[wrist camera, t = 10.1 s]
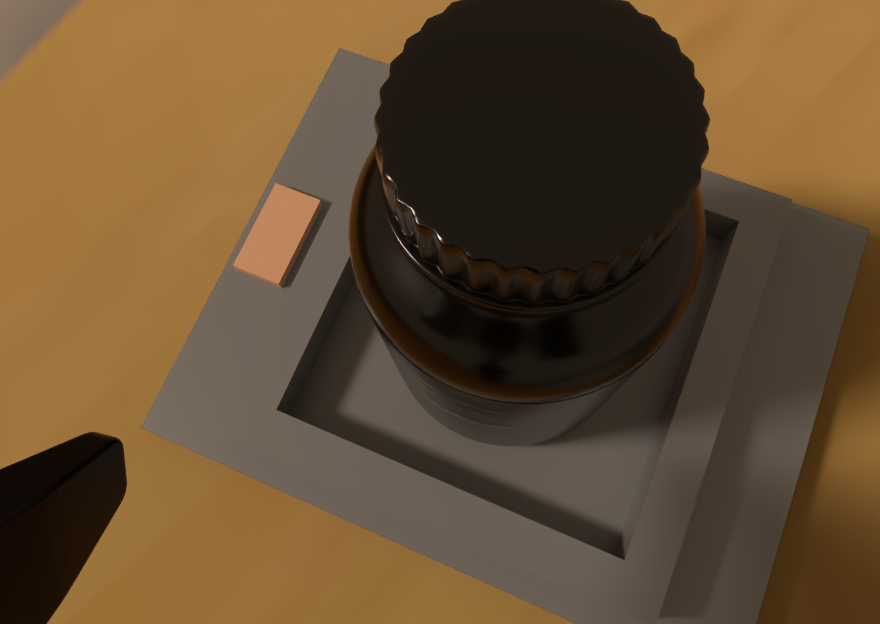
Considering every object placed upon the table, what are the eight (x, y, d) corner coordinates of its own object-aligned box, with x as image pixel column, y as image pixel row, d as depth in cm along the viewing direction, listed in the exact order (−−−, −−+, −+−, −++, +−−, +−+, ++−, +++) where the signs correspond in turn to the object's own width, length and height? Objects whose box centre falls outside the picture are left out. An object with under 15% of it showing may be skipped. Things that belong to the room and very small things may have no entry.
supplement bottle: (671, 345, 21) (903, 141, 10) (497, 498, 20) (524, 477, 9) (516, 185, 23) (556, -152, 11) (348, 320, 22) (204, 104, 10)
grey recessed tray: (722, 686, 20) (757, 710, 17) (155, 431, 22) (116, 421, 20) (853, 241, 23) (897, 208, 20) (344, 65, 26) (330, 18, 23)
